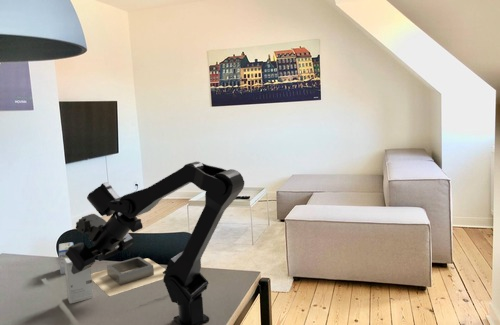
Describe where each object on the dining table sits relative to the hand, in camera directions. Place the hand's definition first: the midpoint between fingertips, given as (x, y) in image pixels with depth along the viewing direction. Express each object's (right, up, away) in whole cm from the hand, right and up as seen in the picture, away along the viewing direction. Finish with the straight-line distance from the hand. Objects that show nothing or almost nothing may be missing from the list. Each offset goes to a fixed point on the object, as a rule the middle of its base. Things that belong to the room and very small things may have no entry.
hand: (86, 266), depth 106 cm
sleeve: (+7, -7, +16) cm, 19 cm away
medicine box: (-16, -8, +24) cm, 30 cm away
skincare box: (-2, -10, +2) cm, 11 cm away
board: (+7, -8, +16) cm, 19 cm away
